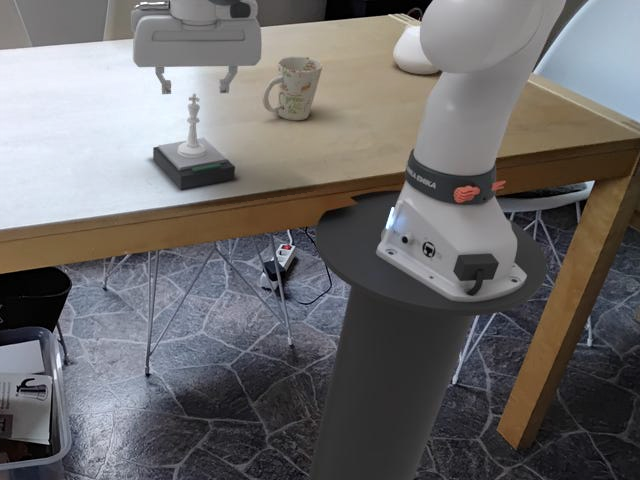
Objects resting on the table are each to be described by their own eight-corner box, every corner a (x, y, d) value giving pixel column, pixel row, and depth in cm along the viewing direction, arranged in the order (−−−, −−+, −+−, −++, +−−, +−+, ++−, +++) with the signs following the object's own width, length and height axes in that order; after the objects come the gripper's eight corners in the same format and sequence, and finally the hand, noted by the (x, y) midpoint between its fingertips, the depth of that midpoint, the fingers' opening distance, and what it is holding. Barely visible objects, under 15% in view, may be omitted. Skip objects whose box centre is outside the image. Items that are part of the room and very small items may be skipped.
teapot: (464, 82, 160) (478, 34, 153) (412, 85, 158) (423, 36, 151) (425, 52, 175) (436, 7, 168) (376, 54, 173) (385, 9, 166)
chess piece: (201, 160, 123) (204, 101, 116) (173, 155, 124) (175, 97, 117) (209, 148, 126) (213, 90, 120) (182, 143, 127) (184, 86, 121)
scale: (234, 179, 124) (235, 163, 122) (180, 189, 121) (181, 173, 119) (203, 151, 132) (204, 135, 130) (153, 160, 129) (153, 144, 127)
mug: (323, 117, 145) (331, 65, 138) (276, 131, 139) (282, 78, 133) (294, 103, 150) (301, 53, 143) (248, 116, 144) (252, 65, 138)
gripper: (130, 7, 106) (132, 101, 115) (268, 6, 107) (259, 99, 116) (129, -4, 111) (130, 86, 120) (261, -6, 112) (252, 84, 121)
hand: (195, 92), depth 118 cm, fingers open, 8 cm apart
